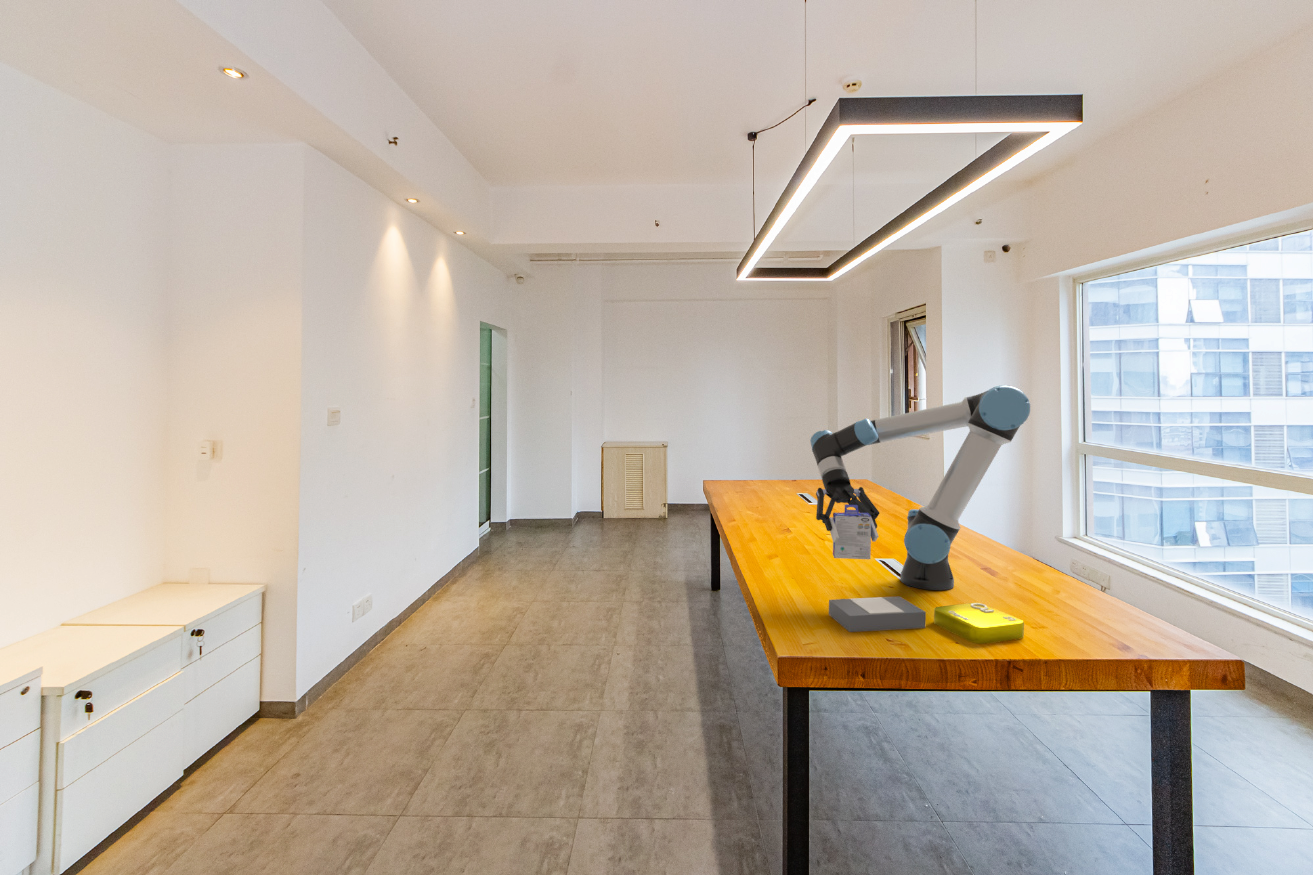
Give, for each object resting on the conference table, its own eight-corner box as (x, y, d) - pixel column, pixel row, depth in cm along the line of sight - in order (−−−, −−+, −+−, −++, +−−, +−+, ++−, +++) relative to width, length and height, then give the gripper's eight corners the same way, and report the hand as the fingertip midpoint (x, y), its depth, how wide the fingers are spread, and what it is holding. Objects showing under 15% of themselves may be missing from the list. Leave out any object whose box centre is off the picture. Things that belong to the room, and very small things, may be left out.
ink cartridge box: (867, 554, 165) (868, 504, 164) (871, 560, 160) (872, 508, 159) (831, 553, 167) (832, 503, 166) (834, 558, 161) (835, 507, 160)
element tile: (930, 623, 150) (930, 605, 150) (977, 617, 154) (978, 599, 154) (976, 646, 135) (977, 626, 135) (1027, 639, 139) (1028, 619, 139)
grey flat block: (899, 610, 157) (899, 595, 157) (925, 627, 146) (925, 611, 145) (828, 614, 155) (829, 599, 155) (849, 631, 143) (849, 615, 143)
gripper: (866, 482, 178) (890, 545, 164) (793, 483, 176) (811, 547, 162) (875, 467, 173) (901, 531, 158) (800, 468, 170) (819, 533, 156)
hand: (856, 539), depth 160 cm, fingers closed on ink cartridge box, 10 cm apart
